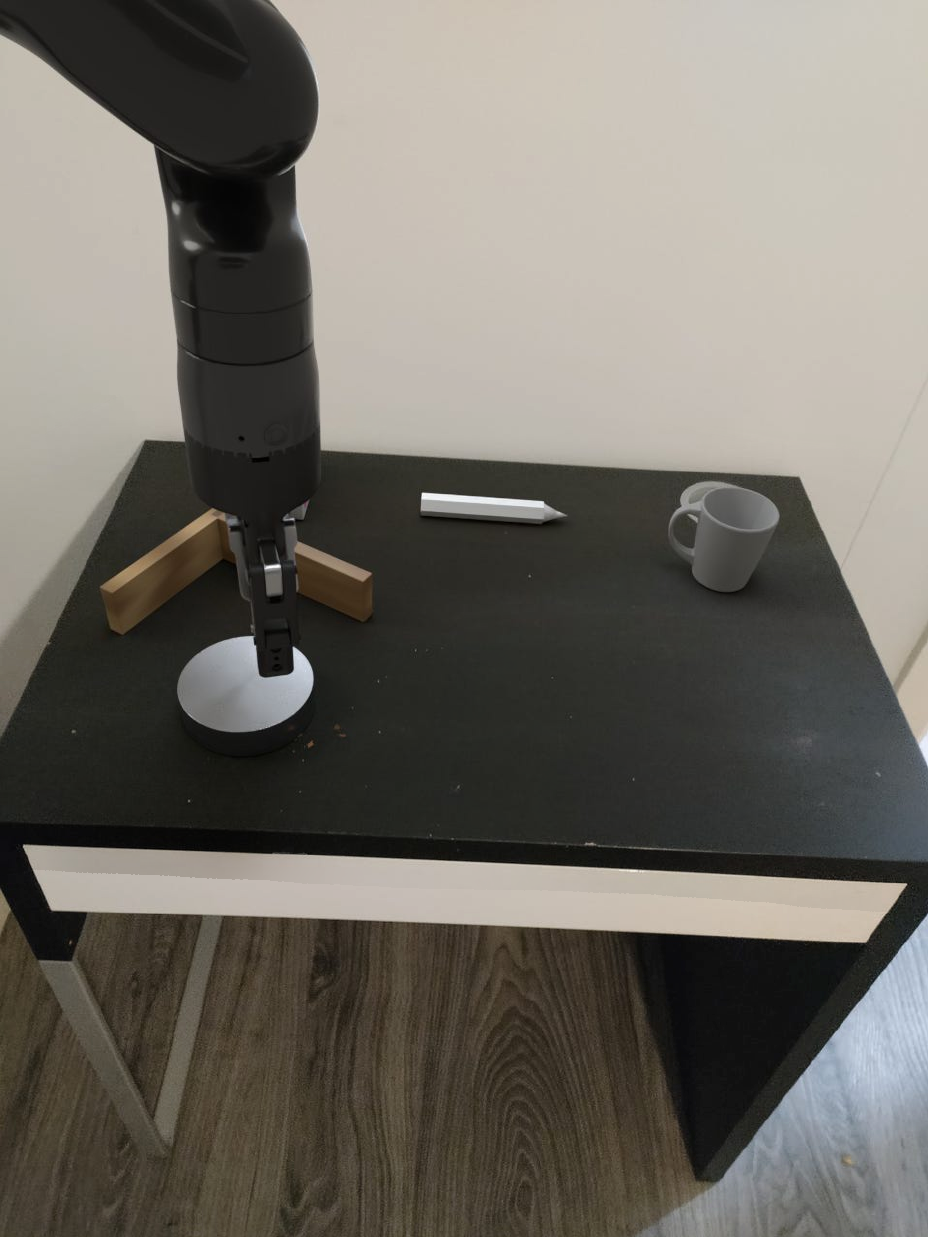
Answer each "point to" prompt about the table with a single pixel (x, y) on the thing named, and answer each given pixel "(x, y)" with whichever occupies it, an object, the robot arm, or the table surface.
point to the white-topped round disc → (243, 700)
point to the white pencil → (487, 508)
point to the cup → (727, 536)
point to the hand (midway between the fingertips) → (267, 628)
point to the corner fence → (204, 548)
